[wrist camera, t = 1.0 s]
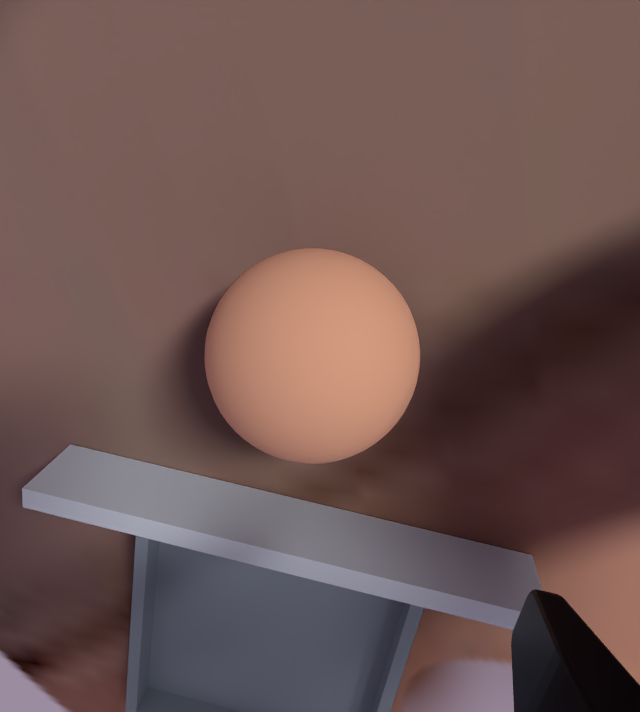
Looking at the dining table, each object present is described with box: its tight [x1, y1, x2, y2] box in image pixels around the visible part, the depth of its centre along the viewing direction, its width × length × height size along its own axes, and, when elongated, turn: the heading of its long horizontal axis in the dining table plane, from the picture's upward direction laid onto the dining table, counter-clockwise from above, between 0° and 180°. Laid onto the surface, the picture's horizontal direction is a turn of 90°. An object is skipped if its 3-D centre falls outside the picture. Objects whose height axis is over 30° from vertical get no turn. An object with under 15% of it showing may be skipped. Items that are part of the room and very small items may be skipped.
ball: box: [205, 248, 420, 464], centre depth 16 cm, size 6×6×6 cm
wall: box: [22, 444, 542, 630], centre depth 20 cm, size 18×1×3 cm, turn 80°
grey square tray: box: [125, 536, 424, 712], centre depth 23 cm, size 11×11×2 cm
